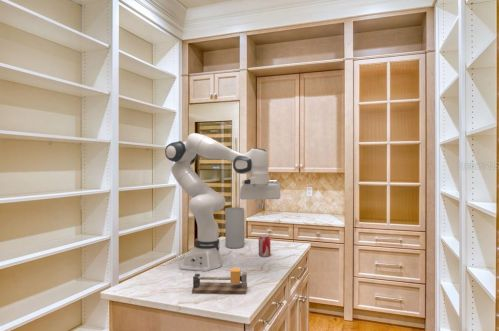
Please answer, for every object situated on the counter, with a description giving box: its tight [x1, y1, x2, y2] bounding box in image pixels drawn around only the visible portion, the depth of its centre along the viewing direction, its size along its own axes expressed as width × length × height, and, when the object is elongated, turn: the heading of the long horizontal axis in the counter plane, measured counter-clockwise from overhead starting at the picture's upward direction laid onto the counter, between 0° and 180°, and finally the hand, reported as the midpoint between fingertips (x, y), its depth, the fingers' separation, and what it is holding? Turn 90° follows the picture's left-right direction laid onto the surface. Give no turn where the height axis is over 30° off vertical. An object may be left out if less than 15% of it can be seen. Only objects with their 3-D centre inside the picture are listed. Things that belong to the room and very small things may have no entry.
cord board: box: [191, 271, 248, 295], centre depth 144 cm, size 23×9×8 cm, turn 86°
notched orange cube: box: [230, 267, 242, 283], centre depth 144 cm, size 4×4×5 cm
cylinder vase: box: [224, 206, 245, 249], centre depth 218 cm, size 12×12×25 cm
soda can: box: [258, 234, 271, 258], centre depth 196 cm, size 7×7×12 cm
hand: (260, 208), depth 163 cm, fingers closed
